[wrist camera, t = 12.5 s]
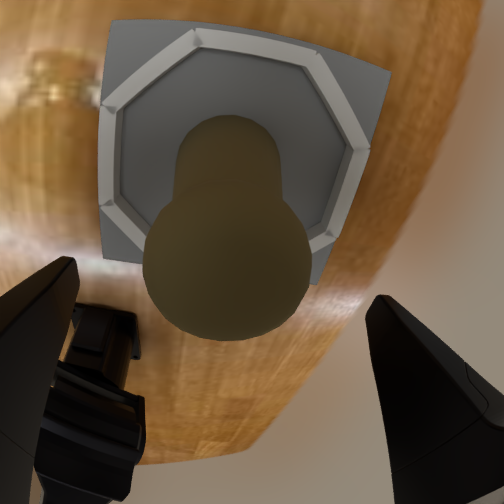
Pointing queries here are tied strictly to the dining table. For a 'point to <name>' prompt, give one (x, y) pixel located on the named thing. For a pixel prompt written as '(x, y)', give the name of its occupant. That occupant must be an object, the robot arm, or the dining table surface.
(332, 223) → the collar plate
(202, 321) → the olive brown pawn
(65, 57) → the dining table surface
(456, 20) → the dining table surface
